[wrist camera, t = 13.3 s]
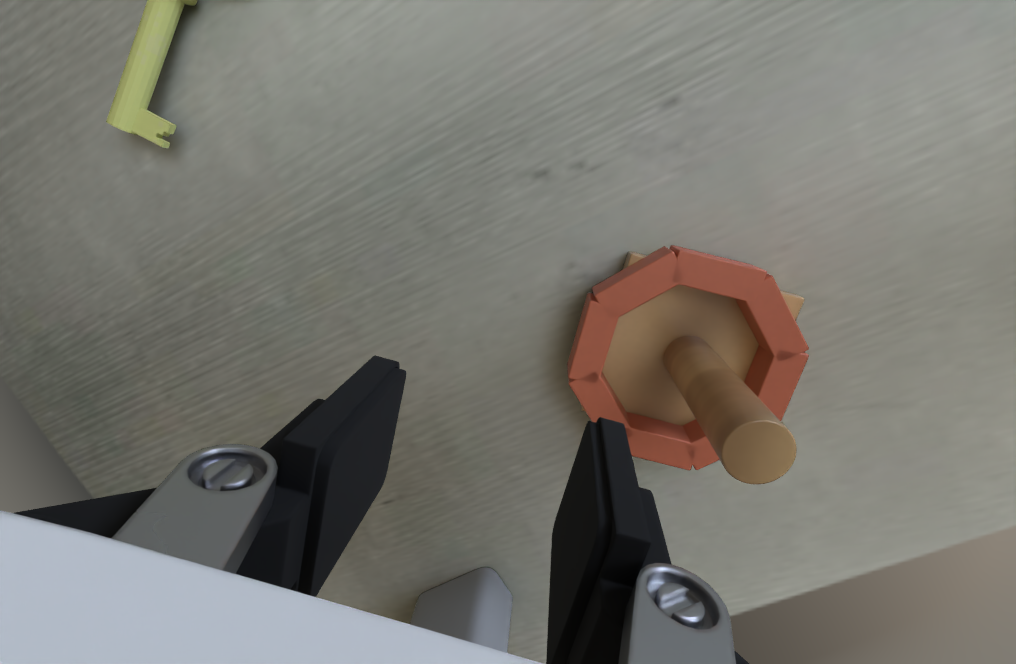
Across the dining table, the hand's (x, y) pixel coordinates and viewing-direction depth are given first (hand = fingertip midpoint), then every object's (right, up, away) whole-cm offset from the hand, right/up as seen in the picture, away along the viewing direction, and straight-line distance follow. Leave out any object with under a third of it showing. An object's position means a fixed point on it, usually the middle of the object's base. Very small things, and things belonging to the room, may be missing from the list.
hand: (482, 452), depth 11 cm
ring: (+9, +2, +13) cm, 16 cm away
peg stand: (+9, +2, +14) cm, 17 cm away
